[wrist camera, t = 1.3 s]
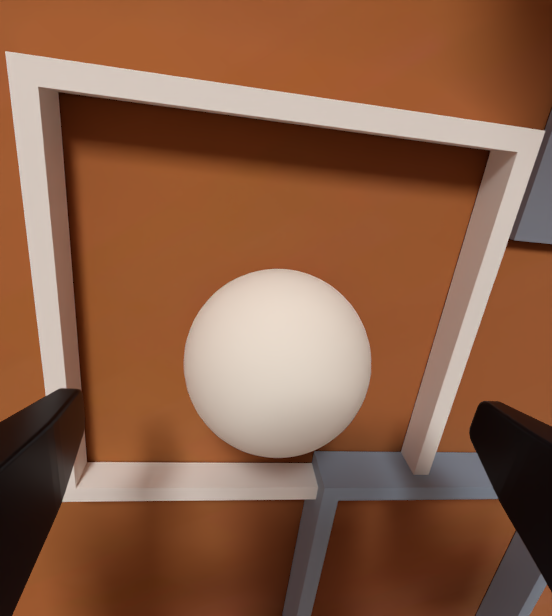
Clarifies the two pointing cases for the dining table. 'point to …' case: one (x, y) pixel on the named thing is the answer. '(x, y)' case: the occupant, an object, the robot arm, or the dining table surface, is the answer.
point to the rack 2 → (402, 486)
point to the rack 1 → (273, 107)
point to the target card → (537, 197)
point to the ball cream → (277, 363)
